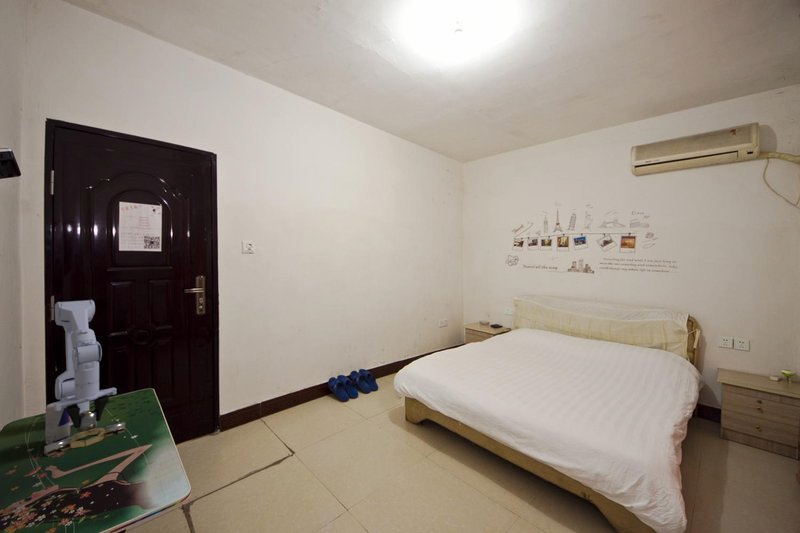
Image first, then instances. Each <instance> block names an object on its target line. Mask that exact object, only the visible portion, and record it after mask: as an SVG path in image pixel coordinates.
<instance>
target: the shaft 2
mask: <svg viewBox="0 0 800 533" xmlns="http://www.w3.org/2000/svg"><path fill="white" fill-rule="evenodd" d="M104 429H105V432H106V433H107V434H106V436H105V438H107V437H110V436H111V437H112V436H114V432H117V434H122V433H125V432H126V422H125V421H122V422H119V423H115V424H111V425H107V426H104Z"/></svg>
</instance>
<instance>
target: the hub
mask: <svg viewBox="0 0 800 533" xmlns="http://www.w3.org/2000/svg"><path fill="white" fill-rule="evenodd" d="M97 425H98V421H97V410H95V409H89V410H87V411H84V412H82V413H80V414H79V428H76V429H77V432H78V433H80V432H85V431H89V430H92V429H96V428H97V427H98V426H97Z"/></svg>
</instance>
